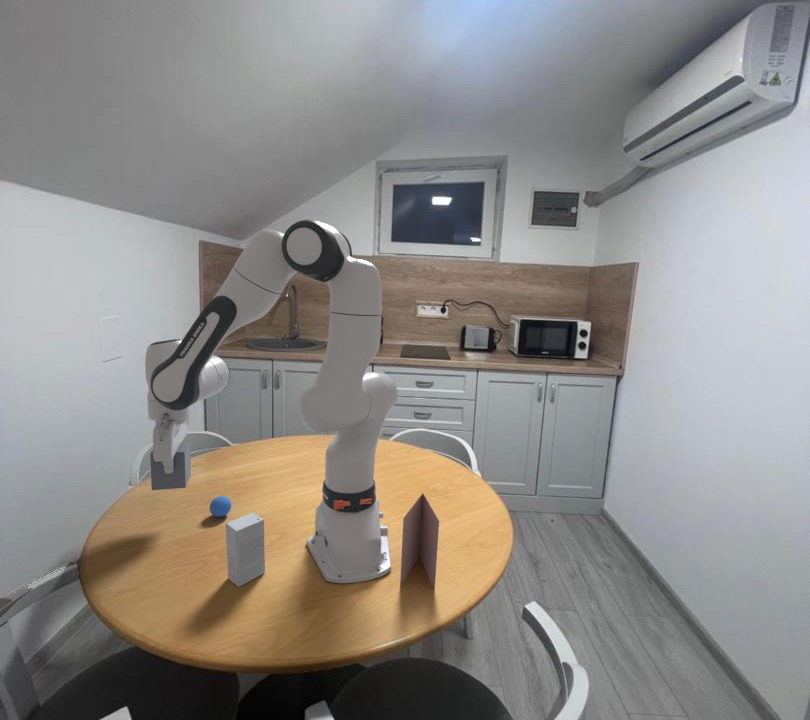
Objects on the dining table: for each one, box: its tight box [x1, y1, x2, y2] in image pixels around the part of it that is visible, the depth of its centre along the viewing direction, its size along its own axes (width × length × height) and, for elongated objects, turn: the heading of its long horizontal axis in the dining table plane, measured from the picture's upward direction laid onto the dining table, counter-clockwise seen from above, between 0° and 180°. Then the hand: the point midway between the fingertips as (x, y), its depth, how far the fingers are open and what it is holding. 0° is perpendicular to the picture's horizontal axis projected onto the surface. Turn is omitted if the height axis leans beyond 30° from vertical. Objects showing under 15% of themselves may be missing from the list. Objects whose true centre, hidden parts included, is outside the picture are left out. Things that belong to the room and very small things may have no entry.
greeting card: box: [399, 492, 440, 591], centre depth 89 cm, size 11×7×15 cm, turn 159°
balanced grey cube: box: [149, 441, 192, 491], centre depth 102 cm, size 7×7×9 cm
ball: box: [209, 495, 232, 518], centre depth 108 cm, size 5×5×5 cm
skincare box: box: [225, 512, 266, 588], centre depth 86 cm, size 6×4×12 cm
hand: (173, 465), depth 102 cm, fingers closed on balanced grey cube, 7 cm apart
